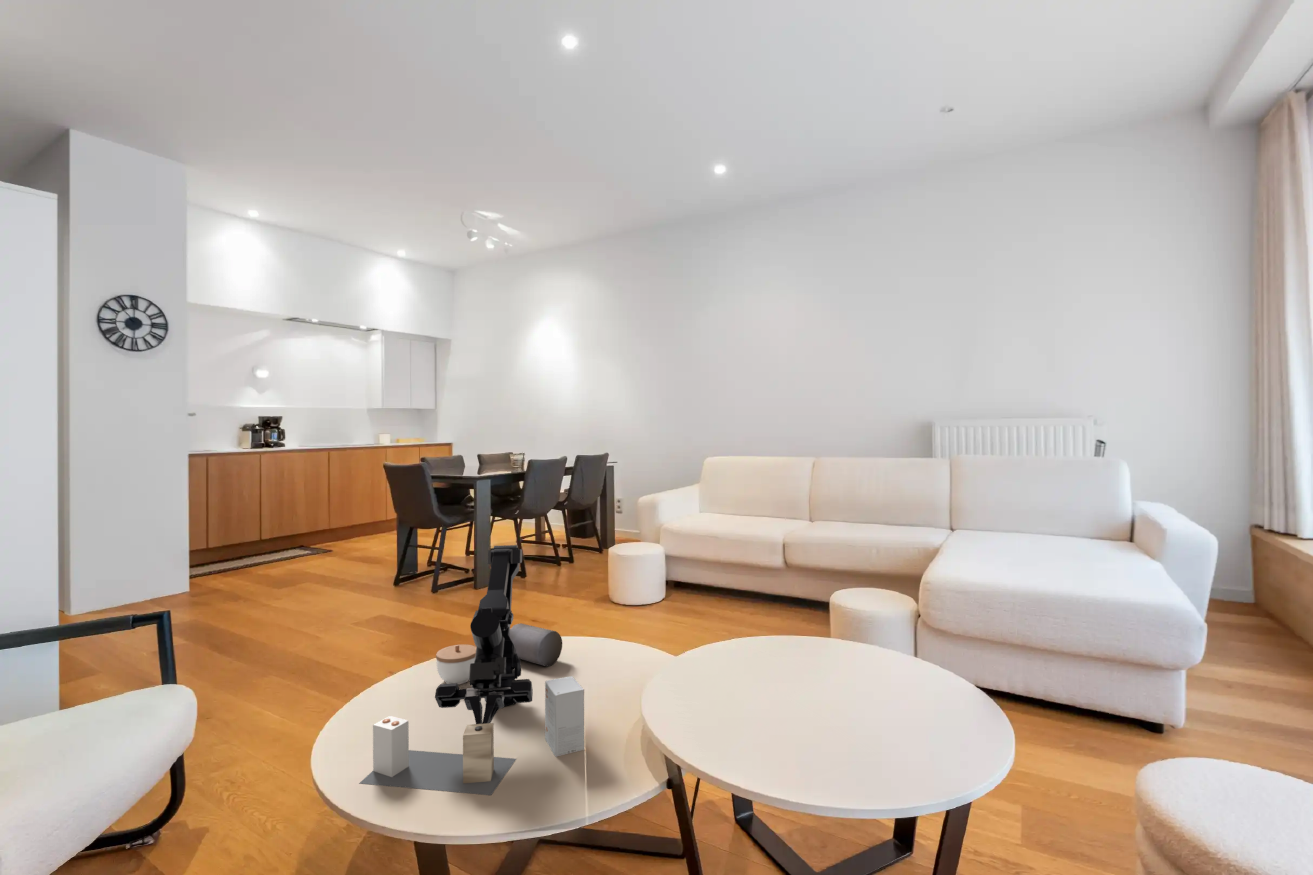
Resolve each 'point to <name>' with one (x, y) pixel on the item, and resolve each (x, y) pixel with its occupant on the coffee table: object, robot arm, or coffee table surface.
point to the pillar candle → (536, 644)
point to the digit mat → (440, 774)
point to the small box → (564, 715)
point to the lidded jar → (455, 663)
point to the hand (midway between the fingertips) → (480, 737)
